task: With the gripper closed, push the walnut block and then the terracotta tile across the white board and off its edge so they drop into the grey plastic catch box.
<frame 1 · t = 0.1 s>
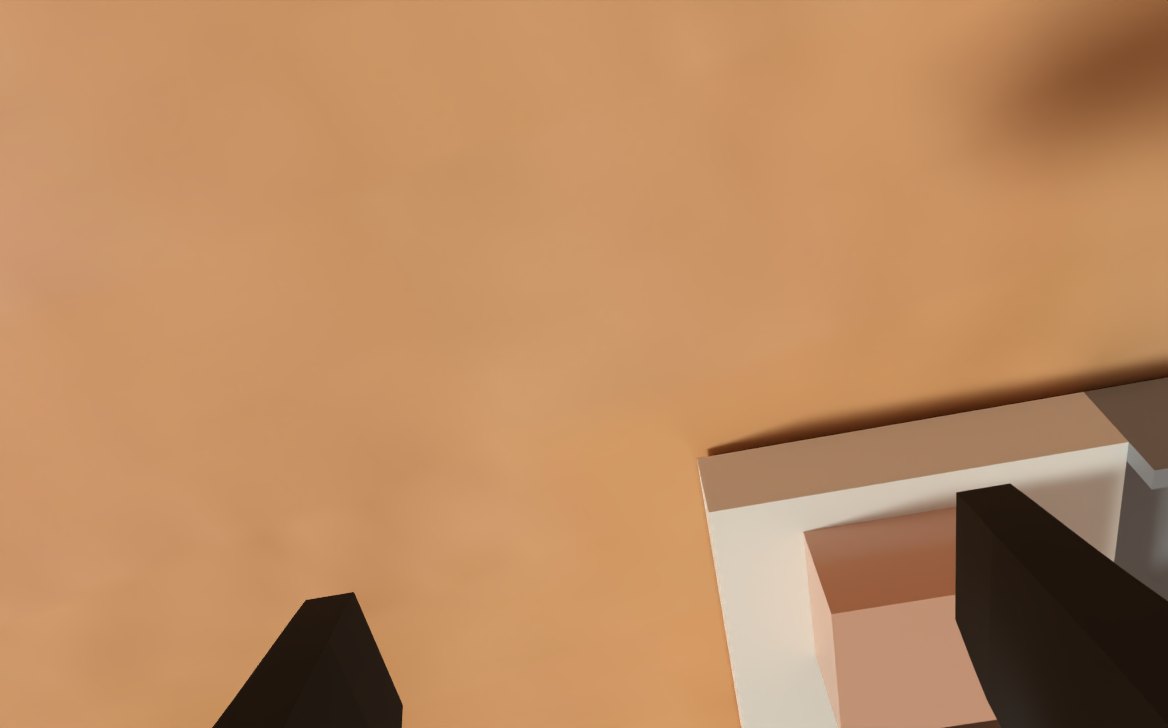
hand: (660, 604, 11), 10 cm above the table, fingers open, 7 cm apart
white board: (893, 594, 25), on the table
terracotta tile: (895, 582, 22), point 2 cm above the table, touching white board
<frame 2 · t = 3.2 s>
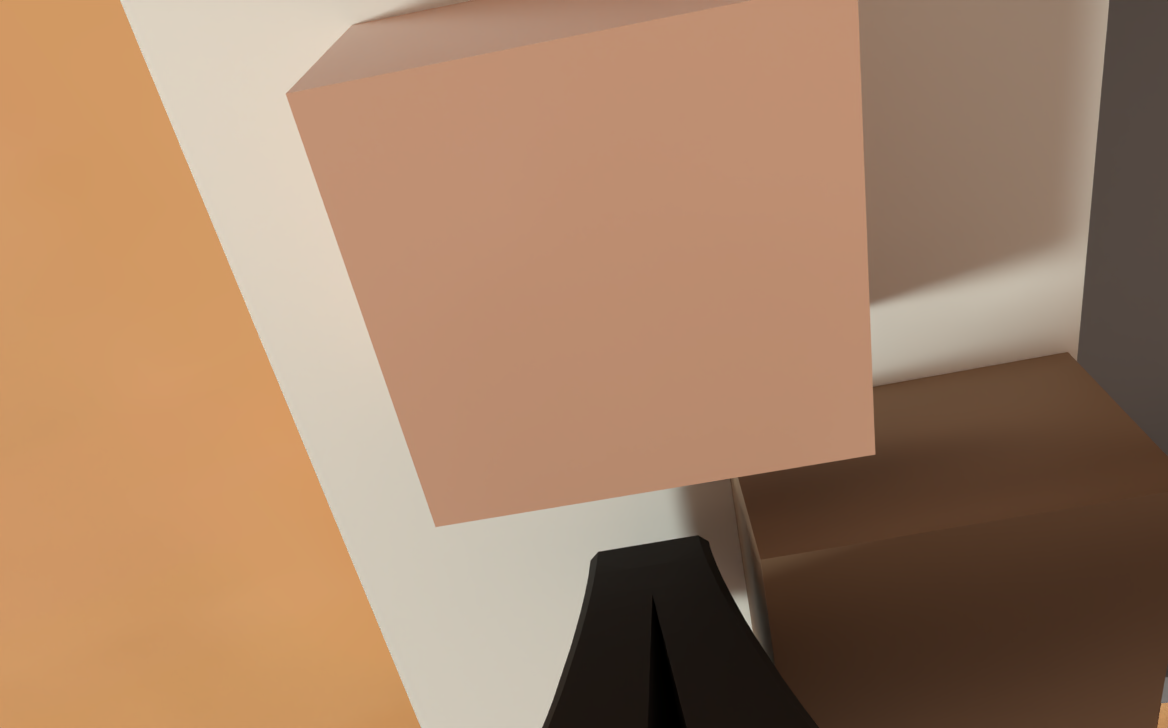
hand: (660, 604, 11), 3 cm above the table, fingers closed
walnut block: (896, 515, 12), point 2 cm above the table, touching gripper
white board: (664, 305, 13), on the table
terracotta tile: (601, 187, 10), point 2 cm above the table, touching white board
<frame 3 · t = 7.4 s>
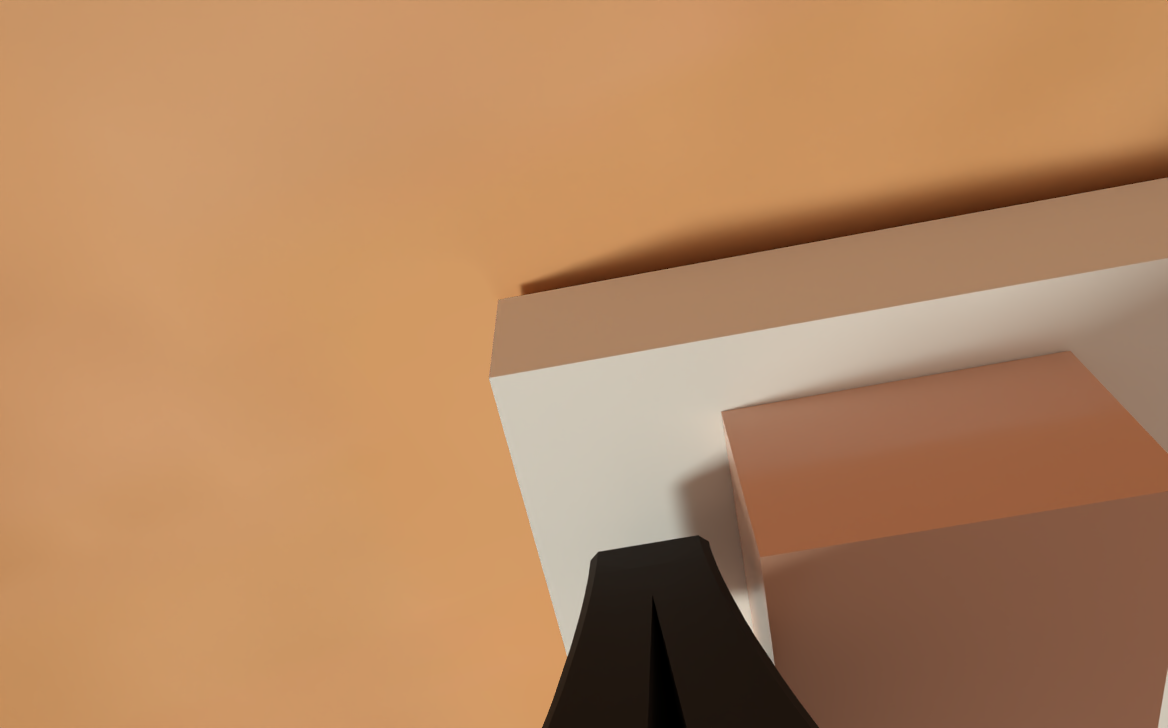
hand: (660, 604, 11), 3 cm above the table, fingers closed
white board: (857, 555, 15), on the table
terracotta tile: (897, 514, 12), point 2 cm above the table, touching gripper
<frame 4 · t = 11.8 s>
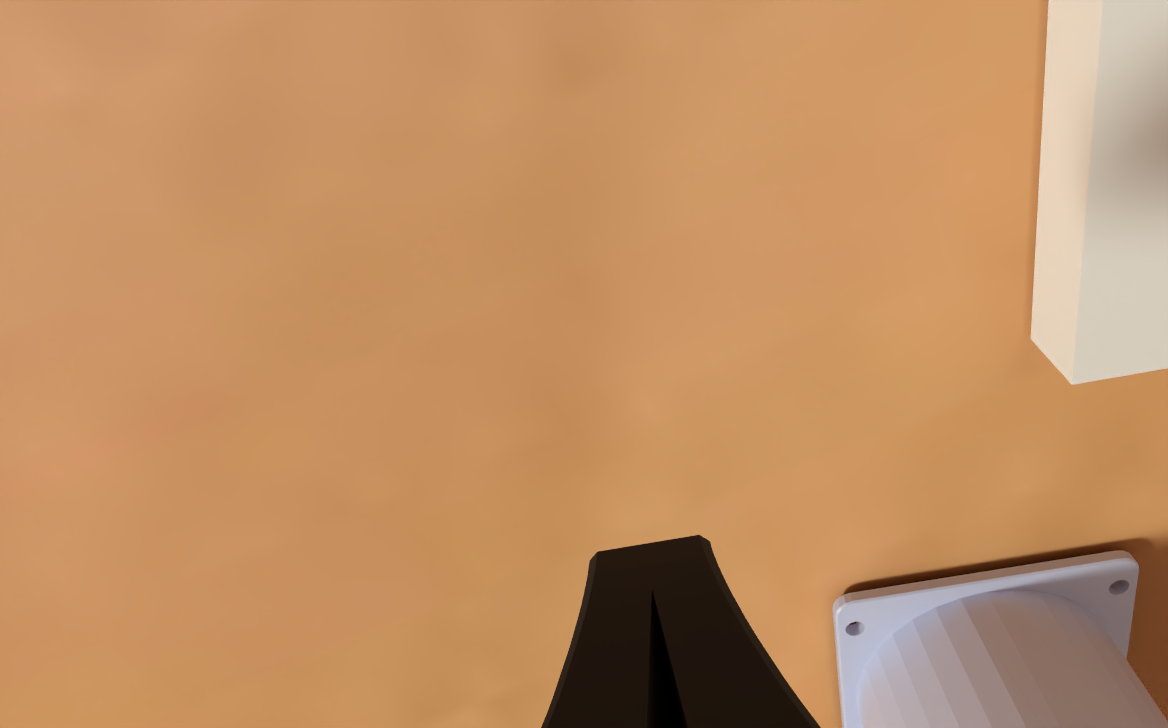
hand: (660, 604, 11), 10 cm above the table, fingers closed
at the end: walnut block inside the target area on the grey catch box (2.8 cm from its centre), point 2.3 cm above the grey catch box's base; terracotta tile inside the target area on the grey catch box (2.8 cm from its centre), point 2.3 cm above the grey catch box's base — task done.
